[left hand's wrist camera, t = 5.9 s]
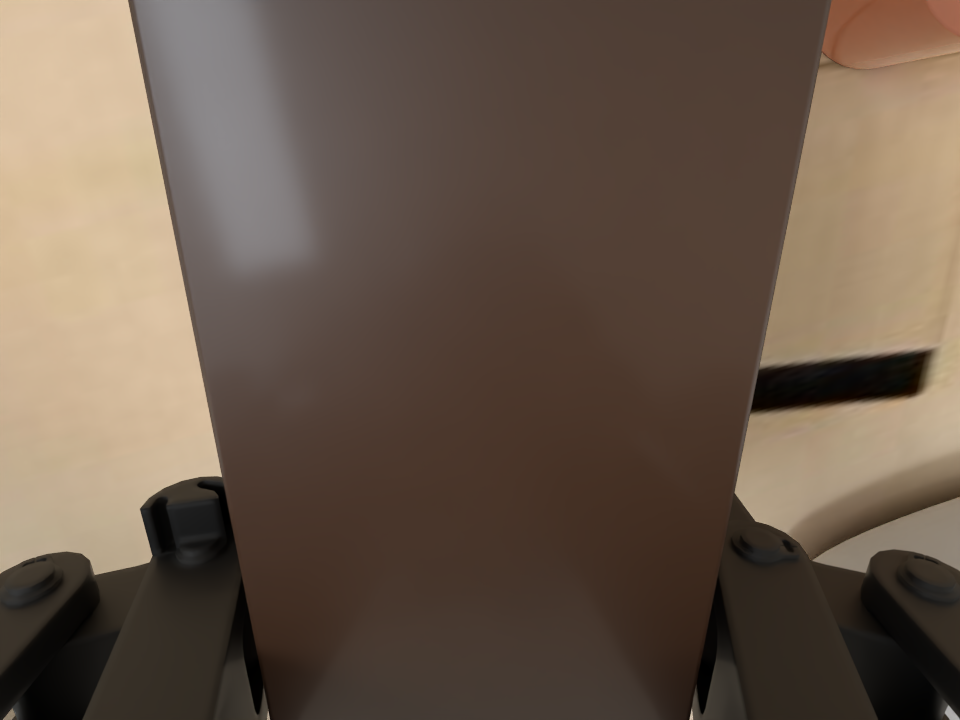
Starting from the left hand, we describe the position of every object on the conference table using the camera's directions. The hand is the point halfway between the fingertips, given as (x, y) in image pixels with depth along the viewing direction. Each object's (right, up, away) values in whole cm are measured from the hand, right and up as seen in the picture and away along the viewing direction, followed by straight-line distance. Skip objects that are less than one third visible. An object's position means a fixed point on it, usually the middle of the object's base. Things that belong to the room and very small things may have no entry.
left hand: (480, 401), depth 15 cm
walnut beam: (0, +9, -3) cm, 9 cm away
